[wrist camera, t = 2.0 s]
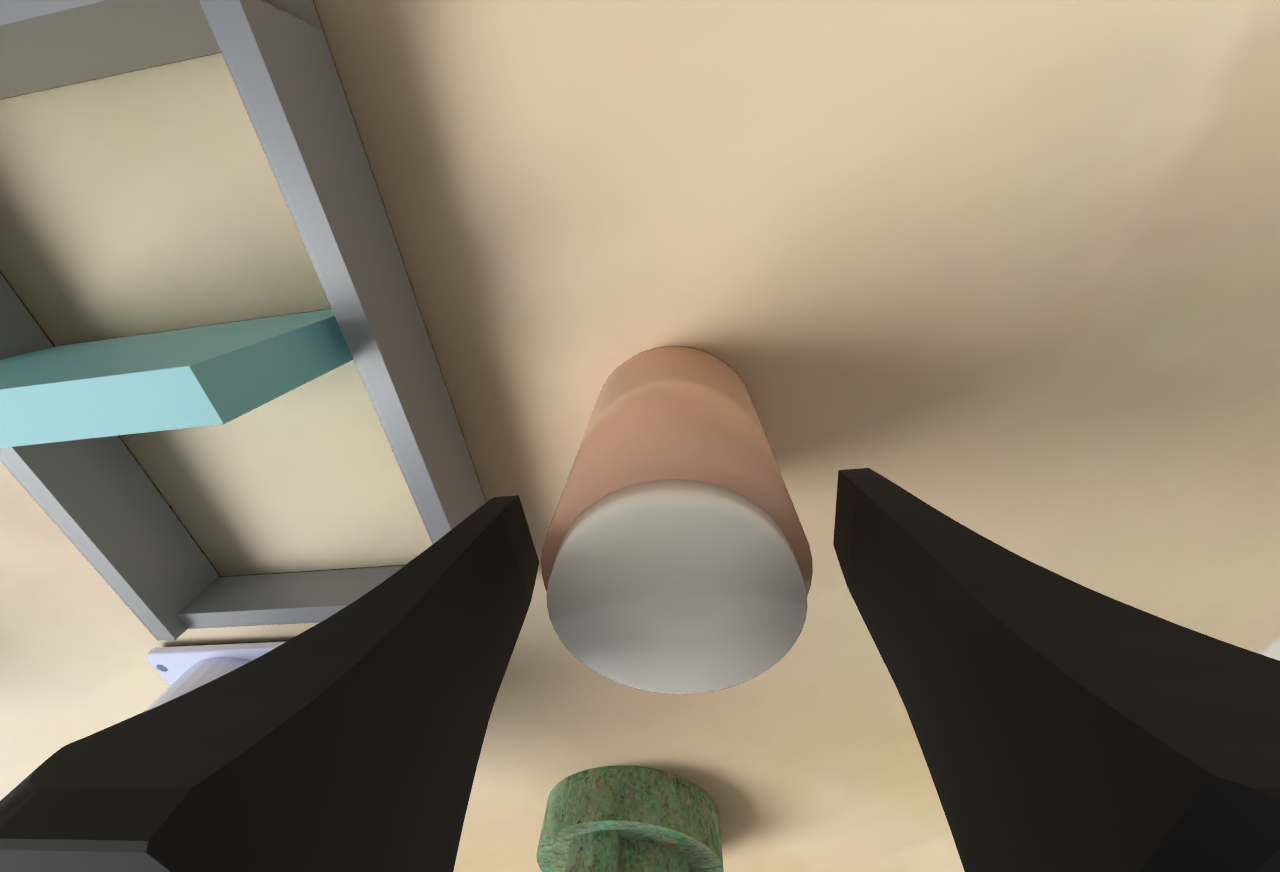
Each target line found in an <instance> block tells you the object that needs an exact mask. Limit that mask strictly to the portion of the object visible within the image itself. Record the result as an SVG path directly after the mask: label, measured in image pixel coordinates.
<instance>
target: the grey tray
mask: <svg viewBox="0 0 1280 872" xmlns="http://www.w3.org/2000/svg"><path fill="white" fill-rule="evenodd" d="M220 52H221V53H222V55H223V57H224V60H225V62H226V64H227V67H228V69H229V71H230V74H231V76H232V78H233V81H234V83H235V85H236V87H237V90H238V92H239V94H240V97H241V99H242V101H243V104H244V106H245V108H246V111H247V113H248V115H249V118H250V120H251V122H252V125H253V127H254V129H255V132H256V134H257V136H258V139H259V141H260V143H261V146H262V148H263V150H264V153H265V155H266V157H267V160H268V162H269V164H270V167H271V169H272V171H273V174H274V176H275V178H276V181H277V183H278V185H279V188H280V190H281V192H282V195H283V197H284V199H285V202H286V204H287V206H288V209H289V211H290V213H291V215H292V218H293V220H294V222H295V225H296V227H297V229H298V232H299V234H300V236H301V239H302V241H303V243H304V246H305V248H306V250H307V253H308V255H309V257H310V260H311V262H312V264H313V267H314V269H315V271H316V274H317V276H318V278H319V281H320V283H321V285H322V288H323V290H324V292H325V295H326V297H327V299H328V302H329V304H330V306H331V309H332V311H333V313H334V316H335V318H336V320H337V323H338V325H339V327H340V330H341V332H342V334H343V337H344V339H345V341H346V343H347V346H348V348H349V350H350V353H351V355H352V357H353V360H354V362H355V364H356V367H357V369H358V371H359V374H360V376H361V378H362V381H363V383H364V385H365V388H366V390H367V392H368V395H369V397H370V399H371V402H372V404H373V406H374V409H375V411H376V413H377V416H378V418H379V420H380V423H381V425H382V427H383V430H384V432H385V434H386V437H387V439H388V441H389V444H390V446H391V448H392V451H393V453H394V455H395V458H396V460H397V462H398V465H399V467H400V469H401V472H402V474H403V476H404V478H405V481H406V483H407V485H408V488H409V490H410V492H411V495H412V497H413V499H414V502H415V504H416V506H417V509H418V511H419V513H420V516H421V518H422V520H423V523H424V525H425V527H426V530H427V532H428V534H429V537H430V539H431V541H432V544H434V543H435V542H437V541H438V540H439V539H440V538H442V537H443V536H444V535H445V534H447V533H448V532H449V531H450V530H452V529H453V528H454V527H455V526H457V525H458V524H459V523H460V522H462V521H463V520H464V519H465V518H467V517H468V516H469V515H471V514H472V513H473V512H474V511H476V510H477V509H478V508H480V507H481V506H482V505H484V504H485V503H486V501H485V498H484V495H483V492H482V489H481V486H480V483H479V481H478V478H477V475H476V472H475V469H474V466H473V463H472V460H471V457H470V455H469V452H468V449H467V446H466V443H465V440H464V437H463V434H462V431H461V428H460V426H459V423H458V420H457V417H456V414H455V411H454V408H453V405H452V402H451V400H450V397H449V394H448V391H447V388H446V385H445V382H444V379H443V376H442V373H441V371H440V368H439V365H438V362H437V359H436V356H435V353H434V350H433V347H432V345H431V342H430V339H429V336H428V333H427V330H426V327H425V324H424V321H423V318H422V316H421V313H420V310H419V307H418V304H417V301H416V298H415V295H414V292H413V290H412V287H411V284H410V281H409V278H408V275H407V272H406V269H405V266H404V263H403V261H402V258H401V255H400V252H399V249H398V246H397V243H396V240H395V237H394V235H393V232H392V229H391V226H390V223H389V220H388V217H387V214H386V211H385V208H384V206H383V203H382V200H381V197H380V194H379V191H378V188H377V185H376V182H375V180H374V177H373V174H372V171H371V168H370V165H369V162H368V159H367V156H366V153H365V151H364V148H363V145H362V142H361V139H360V136H359V133H358V130H357V127H356V125H355V122H354V119H353V116H352V113H351V110H350V107H349V104H348V101H347V98H346V96H345V93H344V90H343V87H342V84H341V81H340V78H339V75H338V72H337V70H336V67H335V64H334V61H333V58H332V55H331V52H330V49H329V46H328V43H327V41H326V38H325V35H324V32H323V29H322V26H321V23H320V20H319V17H318V15H317V12H316V9H315V6H314V3H313V0H0V99H4V98H9V97H13V96H18V95H23V94H28V93H32V92H37V91H42V90H46V89H51V88H56V87H60V86H65V85H70V84H75V83H79V82H84V81H89V80H93V79H98V78H103V77H107V76H112V75H117V74H122V73H126V72H131V71H136V70H140V69H145V68H150V67H155V66H159V65H164V64H169V63H173V62H178V61H183V60H187V59H192V58H197V57H202V56H206V55H211V54H216V53H220ZM52 347H53V345H52V344H51V342H50V341H49V340H48V338H47V337H46V335H45V334H44V333H43V331H42V330H41V329H40V327H39V326H38V324H37V323H36V322H35V320H34V319H33V318H32V316H31V315H30V313H29V312H28V311H27V309H26V308H25V306H24V305H23V304H22V302H21V301H20V300H19V298H18V297H17V295H16V294H15V293H14V291H13V290H12V288H11V287H10V286H9V284H8V283H7V282H6V280H5V279H4V277H3V276H2V275H1V273H0V360H1V359H6V358H10V357H14V356H18V355H22V354H27V353H31V352H35V351H39V350H44V349H48V348H52ZM0 461H1V463H2V464H3V465H4V466H5V467H6V468H7V469H8V471H9V472H10V473H11V474H12V475H13V476H14V477H15V478H16V480H17V481H18V482H19V483H20V484H21V485H22V486H23V488H24V489H25V490H26V491H27V492H28V493H29V494H30V496H31V497H32V498H33V499H34V500H35V501H36V502H37V504H38V505H39V506H40V507H41V508H42V509H43V510H44V512H45V513H46V514H47V515H48V516H49V517H50V518H51V520H52V521H53V522H54V523H55V524H56V525H57V526H58V528H59V529H60V530H61V531H62V532H63V533H64V534H65V536H66V537H67V538H68V539H69V540H70V541H71V542H72V543H73V545H74V546H75V547H76V548H77V549H78V550H79V551H80V553H81V554H82V555H83V556H84V557H85V558H86V559H87V561H88V562H89V563H90V564H91V565H92V566H93V567H94V569H95V570H96V571H97V572H98V573H99V574H100V575H101V577H102V578H103V579H104V580H105V581H106V582H107V583H108V585H109V586H110V587H111V588H112V589H113V590H114V591H115V593H116V594H117V595H118V596H119V597H120V598H121V599H122V601H123V602H124V603H125V604H126V605H127V606H128V607H129V609H130V610H131V611H132V612H133V613H134V614H135V615H136V616H137V618H138V619H139V620H140V621H141V622H142V623H143V624H144V626H145V627H146V628H147V629H148V630H149V631H150V632H151V634H152V635H153V636H154V637H155V638H156V639H157V640H175V639H177V638H178V637H179V636H180V635H181V634H182V633H183V632H185V631H186V630H187V629H195V628H215V627H235V626H255V625H275V624H295V623H315V622H322V621H324V620H325V619H327V618H329V617H330V616H332V615H334V614H335V613H337V612H338V611H340V610H341V609H343V608H345V607H346V606H348V605H349V604H351V603H352V602H354V601H356V600H357V599H359V598H360V597H362V596H363V595H365V594H366V593H368V592H369V591H371V590H372V589H373V588H375V587H376V586H378V585H379V584H381V583H382V582H383V581H385V580H386V579H388V578H389V577H390V576H392V575H393V574H394V573H396V572H397V571H398V570H400V569H401V568H402V567H404V566H405V565H402V566H387V567H371V568H356V569H340V570H325V571H309V572H294V573H278V574H263V575H247V576H232V577H220V576H219V575H218V573H217V572H216V570H215V569H214V568H213V566H212V565H211V564H210V562H209V561H208V559H207V558H206V557H205V555H204V554H203V553H202V551H201V550H200V548H199V547H198V546H197V544H196V543H195V541H194V540H193V539H192V537H191V536H190V535H189V533H188V532H187V530H186V529H185V528H184V526H183V525H182V523H181V522H180V521H179V519H178V518H177V517H176V515H175V514H174V512H173V511H172V510H171V508H170V507H169V506H168V504H167V503H166V501H165V500H164V499H163V497H162V496H161V494H160V493H159V492H158V490H157V489H156V488H155V486H154V485H153V483H152V482H151V481H150V479H149V478H148V476H147V475H146V474H145V472H144V471H143V470H142V468H141V467H140V465H139V464H138V463H137V461H136V460H135V459H134V457H133V456H132V454H131V453H130V452H129V450H128V449H127V447H126V446H125V445H124V443H123V442H122V441H121V439H120V438H119V436H118V435H117V436H108V437H99V438H89V439H80V440H71V441H62V442H52V443H43V444H34V445H24V446H15V447H6V448H0Z"/></svg>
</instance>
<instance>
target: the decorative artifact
mask: <svg viewBox="0 0 1280 872" xmlns="http://www.w3.org/2000/svg"><path fill="white" fill-rule="evenodd" d="M537 862H538V865H539V867H540V869H541V871H542V872H723V859H722V846H721V834H720V821H719V812H718V809H717V806H716V804H715V802H714V801H713V800H712V798H711V797H710V796H709V795H708V794H707V793H706V792H705V791H704V790H702V789H701V788H700V787H698V786H697V785H695V784H693V783H692V782H690V781H688V780H686V779H684V778H681V777H679V776H676V775H674V774H670V773H667V772H664V771H660V770H656V769H650V768H644V767H635V766H607V767H599V768H593V769H588V770H585V771H581V772H578V773H576V774H573V775H571V776H569V777H567V778H565V779H564V780H562V781H561V782H560V783H558V784H557V785H556V786H555V787H554V788H553V790H552V791H551V793H550V795H549V798H548V802H547V807H546V812H545V816H544V821H543V826H542V831H541V836H540V841H539V845H538V850H537Z"/></svg>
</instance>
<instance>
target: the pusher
mask: <svg viewBox="0 0 1280 872" xmlns="http://www.w3.org/2000/svg"><path fill="white" fill-rule="evenodd" d="M351 360H353V357H352V355H351V353H350V350H349V348H348V346H347V343H346V341H345V339H344V337H343V334H342V332H341V330H340V327H339V325H338V323H337V320H336V318H335V316H334V313H333V311H332V309H326V310H319V311H312V312H304V313H297V314H290V315H282V316H275V317H268V318H260V319H253V320H245V321H238V322H231V323H223V324H216V325H209V326H201V327H194V328H187V329H179V330H172V331H165V332H157V333H150V334H143V335H135V336H128V337H120V338H113V339H106V340H98V341H91V342H84V343H76V344H69V345H62V346H56V347H52V348H48V349H44V350H39V351H35V352H31V353H27V354H22V355H18V356H14V357H10V358H6V359H1V360H0V448H6V447H15V446H24V445H34V444H43V443H52V442H62V441H71V440H80V439H89V438H99V437H108V436H117V435H127V434H136V433H145V432H154V431H164V430H173V429H182V428H192V427H201V426H210V425H220V424H225V423H227V422H229V421H231V420H233V419H235V418H237V417H239V416H241V415H243V414H245V413H247V412H249V411H251V410H253V409H255V408H257V407H259V406H261V405H263V404H265V403H267V402H269V401H271V400H273V399H275V398H277V397H279V396H281V395H283V394H285V393H287V392H289V391H291V390H293V389H295V388H297V387H299V386H301V385H303V384H305V383H307V382H309V381H311V380H313V379H315V378H317V377H319V376H321V375H323V374H325V373H327V372H329V371H331V370H333V369H335V368H337V367H339V366H341V365H343V364H345V363H347V362H349V361H351Z"/></svg>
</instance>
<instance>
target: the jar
mask: <svg viewBox="0 0 1280 872" xmlns="http://www.w3.org/2000/svg"><path fill="white" fill-rule="evenodd" d="M541 564H542V576H543V581H544V585H545V589H546V591H547V608H548V612H549V617H550V620H551V622H552V625H553V627H554V630H555V631H556V633H557V635H558V636H559V638H560V640H561V641H562V642H563V644H564V645H565V646H566V647H567V649H568V650H569V651H570V652H571V653H572V654H573V655H574V656H575V657H576V658H577V659H578V660H580V661H581V662H582V663H584V664H585V665H586V666H588V667H589V668H590V669H592V670H594V671H595V672H597V673H599V674H600V675H602V676H604V677H606V678H609V679H611V680H613V681H615V682H618V683H621V684H623V685H626V686H629V687H633V688H637V689H640V690H645V691H651V692H656V693H667V694H695V693H705V692H711V691H717V690H721V689H725V688H729V687H732V686H735V685H738V684H741V683H744V682H746V681H748V680H750V679H752V678H754V677H756V676H758V675H760V674H761V673H763V672H765V671H766V670H768V669H769V668H771V667H772V666H773V665H775V664H776V663H777V662H778V661H780V660H781V659H782V658H783V657H784V656H785V654H786V653H787V652H788V651H789V650H790V649H791V647H792V646H793V645H794V643H795V642H796V640H797V638H798V637H799V635H800V633H801V631H802V628H803V625H804V622H805V619H806V612H807V596H808V592H809V589H810V586H811V580H812V572H813V570H812V556H811V552H810V547H809V543H808V541H807V538H806V536H805V533H804V531H803V528H802V526H801V523H800V521H799V518H798V516H797V513H796V511H795V508H794V506H793V503H792V501H791V498H790V496H789V493H788V491H787V488H786V486H785V483H784V481H783V478H782V476H781V473H780V471H779V468H778V466H777V463H776V461H775V458H774V456H773V453H772V451H771V448H770V446H769V443H768V441H767V438H766V436H765V433H764V431H763V428H762V426H761V423H760V421H759V418H758V416H757V413H756V411H755V408H754V406H753V403H752V401H751V398H750V396H749V393H748V391H747V389H746V387H745V385H744V383H743V382H742V380H741V379H740V377H739V376H738V375H737V374H736V373H735V371H734V370H733V369H731V368H730V367H729V366H728V365H727V364H726V363H724V362H723V361H721V360H720V359H719V358H717V357H715V356H713V355H711V354H709V353H706V352H704V351H701V350H698V349H693V348H688V347H678V346H671V347H661V348H655V349H651V350H648V351H645V352H642V353H640V354H638V355H636V356H634V357H632V358H630V359H629V360H627V361H626V362H624V363H623V364H622V365H620V366H619V367H618V368H617V369H616V370H615V371H614V372H613V373H612V374H611V375H610V376H609V378H608V379H607V381H606V382H605V384H604V385H603V387H602V389H601V391H600V394H599V396H598V399H597V401H596V404H595V407H594V410H593V412H592V415H591V418H590V420H589V423H588V426H587V428H586V431H585V434H584V436H583V439H582V442H581V444H580V447H579V450H578V452H577V455H576V458H575V461H574V463H573V466H572V469H571V471H570V474H569V477H568V479H567V482H566V485H565V487H564V490H563V493H562V495H561V498H560V501H559V503H558V506H557V509H556V512H555V514H554V517H553V520H552V522H551V525H550V528H549V530H548V533H547V536H546V539H545V543H544V546H543V551H542V559H541Z"/></svg>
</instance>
